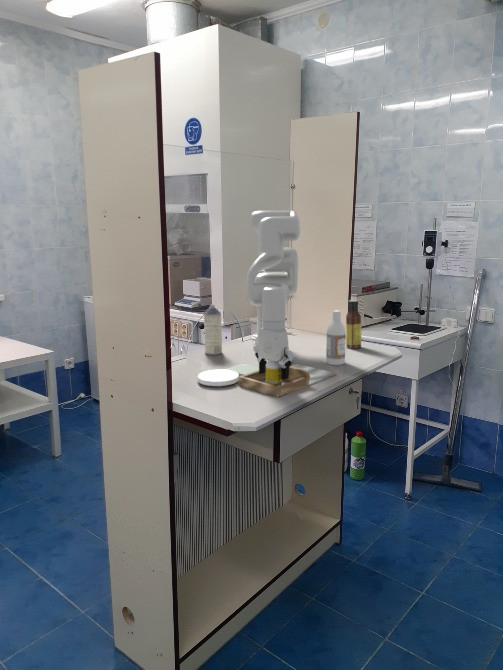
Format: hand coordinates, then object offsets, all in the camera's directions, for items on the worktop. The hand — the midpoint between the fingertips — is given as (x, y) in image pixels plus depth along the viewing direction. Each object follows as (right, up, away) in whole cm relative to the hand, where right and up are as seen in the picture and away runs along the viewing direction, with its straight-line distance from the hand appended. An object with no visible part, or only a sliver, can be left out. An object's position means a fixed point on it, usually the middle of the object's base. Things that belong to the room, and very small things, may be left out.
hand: (273, 375), depth 177 cm
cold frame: (+5, -2, +6) cm, 8 cm away
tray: (-9, 0, +14) cm, 17 cm away
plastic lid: (-19, -3, +6) cm, 20 cm away
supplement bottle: (0, -3, +1) cm, 4 cm away
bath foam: (+24, +3, +25) cm, 35 cm away
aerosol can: (-23, +6, +41) cm, 47 cm away
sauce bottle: (+35, +8, +48) cm, 60 cm away
